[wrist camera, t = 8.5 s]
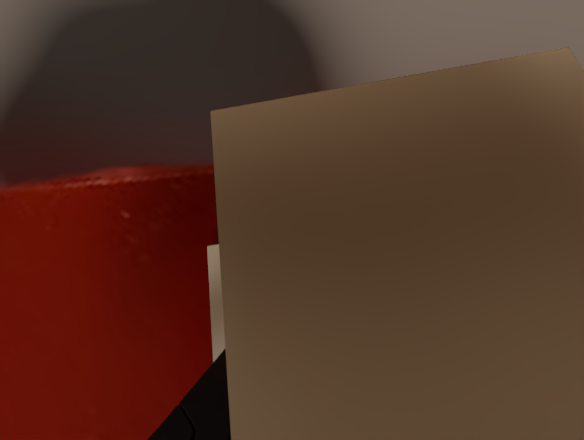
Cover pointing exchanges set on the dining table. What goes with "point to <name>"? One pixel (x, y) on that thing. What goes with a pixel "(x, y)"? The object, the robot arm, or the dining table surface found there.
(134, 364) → the dining table surface
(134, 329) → the dining table surface
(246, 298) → the block
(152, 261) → the dining table surface
